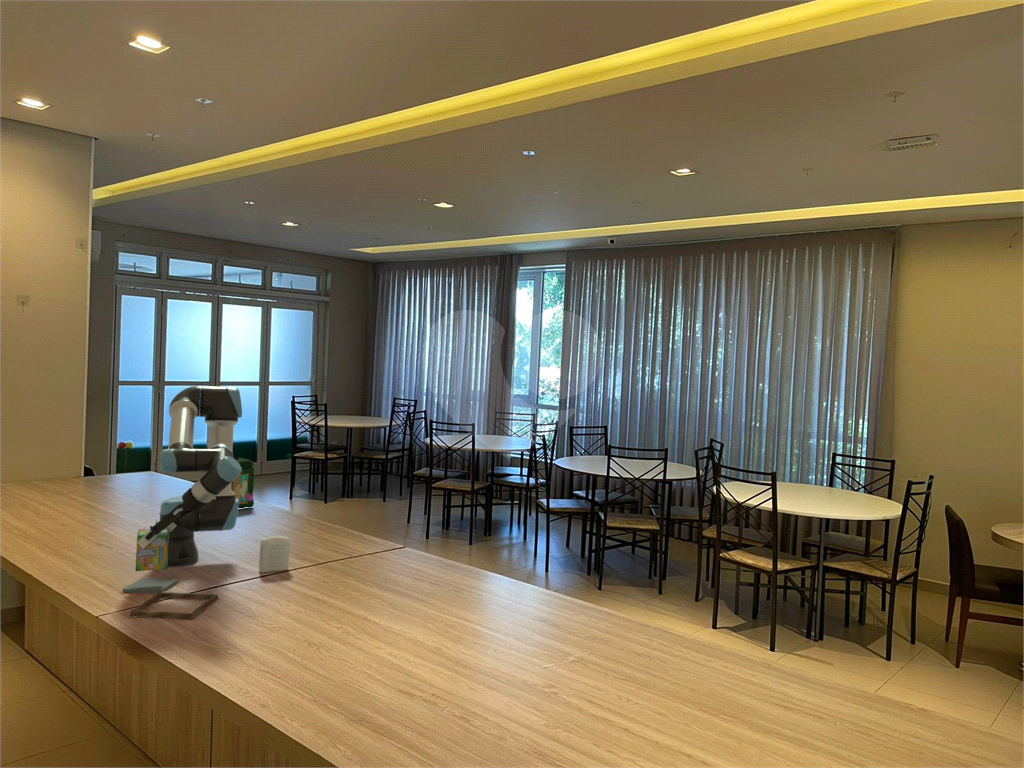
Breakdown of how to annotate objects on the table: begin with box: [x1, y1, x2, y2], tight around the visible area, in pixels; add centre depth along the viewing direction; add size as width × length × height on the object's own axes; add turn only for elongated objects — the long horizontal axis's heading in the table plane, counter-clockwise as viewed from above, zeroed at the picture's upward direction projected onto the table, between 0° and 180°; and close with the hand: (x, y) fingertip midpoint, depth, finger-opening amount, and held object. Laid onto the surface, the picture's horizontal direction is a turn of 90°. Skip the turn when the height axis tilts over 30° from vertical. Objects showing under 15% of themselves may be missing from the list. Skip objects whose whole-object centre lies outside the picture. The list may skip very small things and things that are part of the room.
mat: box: [122, 577, 179, 595], centre depth 229 cm, size 12×12×1 cm
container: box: [231, 456, 255, 508], centre depth 352 cm, size 15×18×25 cm
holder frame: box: [129, 591, 219, 621], centre depth 212 cm, size 18×18×2 cm
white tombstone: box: [258, 535, 290, 573], centre depth 253 cm, size 10×4×12 cm, turn 123°
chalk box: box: [135, 520, 169, 572], centre depth 228 cm, size 9×9×15 cm
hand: (150, 540), depth 228 cm, fingers closed on chalk box, 11 cm apart
